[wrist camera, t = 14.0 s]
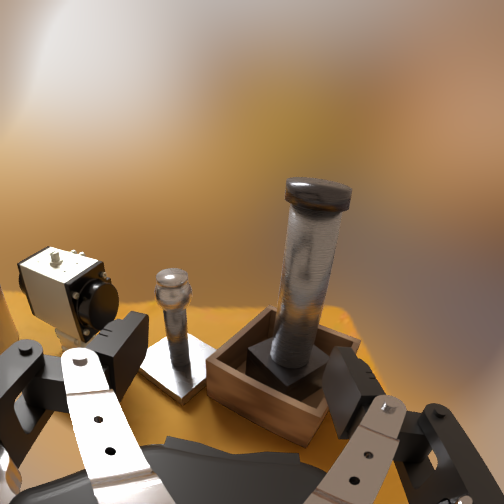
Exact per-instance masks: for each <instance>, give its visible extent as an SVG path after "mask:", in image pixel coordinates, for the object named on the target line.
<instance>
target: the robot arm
mask: <svg viewBox="0 0 504 504" xmlns="http://www.w3.org/2000/svg"><path fill="white" fill-rule="evenodd" d="M148 331H149V316H148V315H147V314H143V313H138V312H134V311H131V312H130V313H129V314H128V315H127V316H126V317H125V318H124V319H123V320H121V319H117V320H114V321H112V322H109V323H108V324H107V325H106V326H105V327H104V328H103V330H101V331H100V332H99V334H97V336H96V337H95V338H94V339H93V340H92V341H91V342H90V343H89V344H88V345H87V346H86V347H85V348H72V349H69V350H67V351H66V352H64V353H63V355H62V357H56V356H49V355H44V354H43V348H42V346H41V344H39V343H38V342H36V341H34V340H28V339H26V340H19V341H18V338H19V336H18V332H17V329H16V327H15V324H14V322H13V320H12V317H11V315H10V312H9V309H8V306H7V304H6V301H5V298H4V295H3V292H2V289H1V286H0V504H373V502H374V500H375V498H376V496H377V494H378V492H379V490H380V488H381V485H382V483H383V481H384V479H385V477H386V474H387V472H388V470H389V467H390V465H391V462H392V460H394V463H395V466H396V469H397V471H398V474H399V477H400V479H401V482H402V485H403V488H404V491H405V493H406V496H407V499H408V502H409V504H504V495H503V493H502V491H501V490H500V488H499V486H498V484H497V483H496V481H495V479H494V477H493V476H492V474H491V472H490V471H489V469H488V468H487V466H486V464H485V463H484V461H483V459H482V458H481V456H480V455H479V453H478V452H477V450H476V448H475V447H474V445H473V444H472V442H471V441H470V439H469V438H468V436H467V435H466V433H465V431H464V430H463V428H462V427H461V426H460V424H459V423H458V421H457V420H456V418H455V417H454V415H453V414H452V412H451V411H450V410H449V409H447V408H446V407H445V406H443V405H440V404H435V403H432V404H428V405H427V406H426V407H425V409H424V410H423V412H422V413H418V412H411V411H406V406H405V405H404V403H403V402H402V401H401V400H399V399H397V398H396V397H393V396H390V395H386V394H385V392H384V390H383V389H382V387H381V385H380V384H379V382H378V380H377V379H376V377H375V375H374V374H373V373H372V370H371V369H370V367H369V366H368V364H366V363H365V362H364V361H363V360H361V359H358V358H357V356H356V354H355V353H354V351H353V349H352V348H351V347H342V346H334V347H333V349H332V351H331V354H330V357H329V360H328V363H327V365H326V368H325V371H324V374H323V377H322V389H323V392H324V395H325V398H326V401H327V404H328V407H329V410H330V413H331V417H332V420H333V423H334V426H335V429H336V432H337V435H338V439H350V440H349V442H348V443H347V445H346V447H345V448H344V450H343V451H342V453H341V454H340V456H339V457H338V459H337V460H336V461H335V463H334V464H333V466H332V467H331V469H330V470H329V471H328V473H326V472H324V471H323V470H321V469H319V468H317V467H314V466H312V465H309V464H305V463H302V462H300V459H299V453H280V452H260V453H249V454H230V453H226V452H224V451H221V450H218V449H215V448H212V447H209V446H207V445H204V444H201V443H198V442H193V441H188V440H183V439H178V438H174V437H170V436H167V438H166V441H165V444H151V445H144V446H138V444H137V442H136V440H135V438H134V436H133V434H132V431H131V429H130V427H129V425H128V423H127V421H126V418H125V416H124V414H123V412H122V409H121V407H120V405H119V403H120V402H121V400H122V398H123V396H124V395H125V393H126V391H127V389H128V388H129V386H130V384H131V382H132V381H133V379H134V377H135V375H136V374H137V372H138V370H139V369H140V367H141V365H142V363H143V362H144V360H145V358H146V355H147V351H148ZM21 391H22V395H21V396H20V397H19V398H18V400H17V401H16V402H15V399H16V398H17V396H18V395H19V394H20V393H21ZM54 411H58V412H64V413H70V414H71V419H72V423H73V427H74V431H75V434H76V438H77V442H78V445H79V449H80V452H81V455H82V458H83V461H84V464H85V467H86V469H84V470H81V471H78V472H76V473H74V474H71V475H68V476H65V477H63V478H60V479H57V480H54V481H51V482H48V483H45V484H42V485H39V486H36V487H32V488H29V489H26V490H24V491H22V492H20V487H21V484H22V477H21V474H20V472H19V470H18V468H19V467H20V465H21V463H22V462H23V460H24V458H25V456H26V454H27V453H28V451H29V450H30V448H31V446H32V445H33V443H34V442H35V440H36V439H37V437H38V435H39V434H40V432H41V430H42V429H43V428H44V426H45V424H46V423H47V421H48V420H49V418H50V417H51V415H52V414H53V412H54ZM432 450H433V451H434V453H435V455H436V457H437V460H438V465H437V468H436V470H434V468H433V466H432V464H431V462H430V460H429V458H428V455H429V453H430V452H431V451H432Z"/></svg>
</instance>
